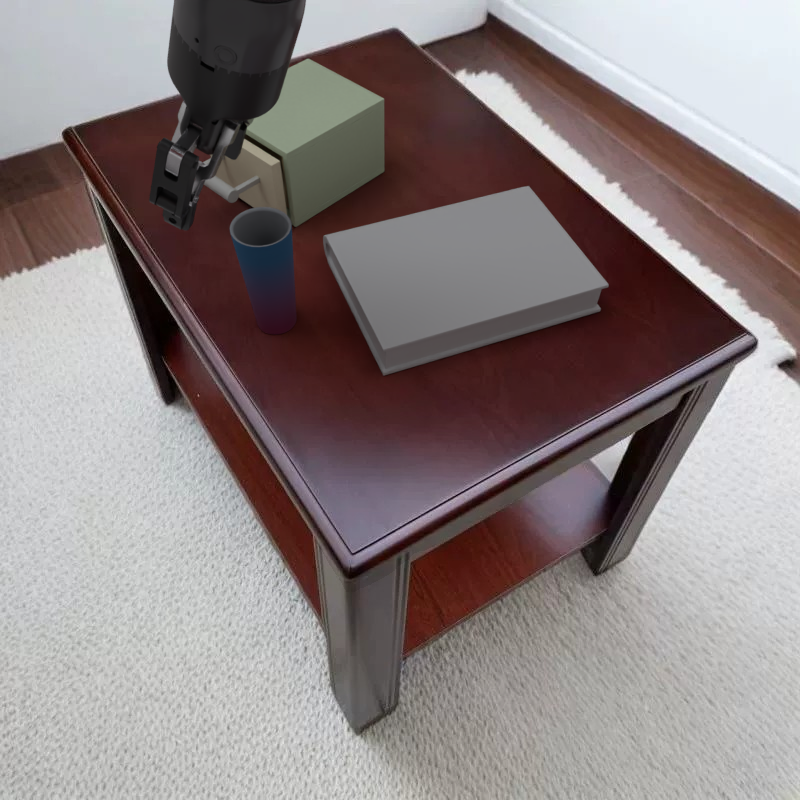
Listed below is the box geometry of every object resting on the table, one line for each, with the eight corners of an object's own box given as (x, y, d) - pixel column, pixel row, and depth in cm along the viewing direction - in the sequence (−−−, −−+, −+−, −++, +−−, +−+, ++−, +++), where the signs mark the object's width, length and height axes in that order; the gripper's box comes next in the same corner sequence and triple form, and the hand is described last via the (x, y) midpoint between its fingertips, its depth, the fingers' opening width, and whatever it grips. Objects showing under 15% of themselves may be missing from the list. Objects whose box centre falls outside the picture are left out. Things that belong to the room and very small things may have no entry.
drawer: (248, 245, 80) (236, 185, 73) (184, 199, 84) (168, 139, 78) (364, 173, 88) (363, 113, 82) (300, 135, 92) (294, 76, 86)
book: (609, 284, 73) (383, 349, 67) (600, 311, 76) (383, 376, 70) (523, 179, 83) (321, 228, 77) (519, 206, 86) (324, 255, 80)
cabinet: (295, 227, 83) (286, 153, 75) (225, 180, 88) (210, 106, 80) (384, 171, 90) (384, 98, 82) (314, 130, 95) (308, 58, 87)
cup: (268, 348, 72) (250, 255, 62) (239, 316, 74) (218, 222, 65) (314, 323, 74) (303, 230, 64) (285, 293, 77) (270, 199, 67)
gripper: (231, -68, 48) (200, 108, 62) (120, 55, 41) (112, 224, 55) (332, -6, 49) (279, 154, 63) (241, 125, 42) (204, 272, 56)
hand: (202, 186), depth 59 cm, fingers open, 8 cm apart
